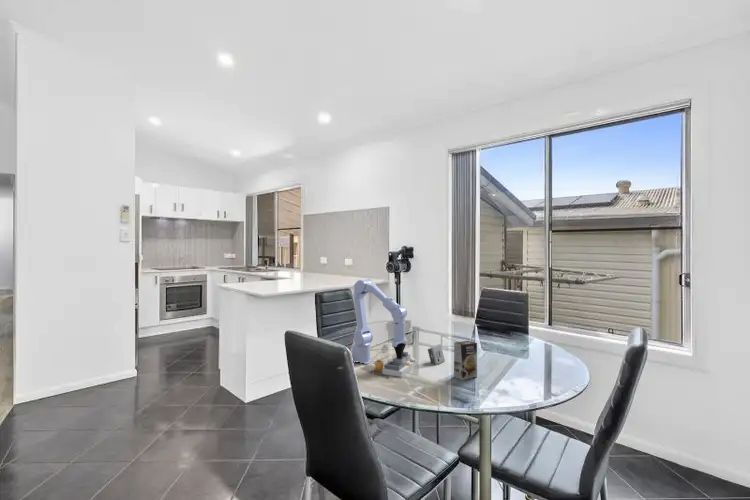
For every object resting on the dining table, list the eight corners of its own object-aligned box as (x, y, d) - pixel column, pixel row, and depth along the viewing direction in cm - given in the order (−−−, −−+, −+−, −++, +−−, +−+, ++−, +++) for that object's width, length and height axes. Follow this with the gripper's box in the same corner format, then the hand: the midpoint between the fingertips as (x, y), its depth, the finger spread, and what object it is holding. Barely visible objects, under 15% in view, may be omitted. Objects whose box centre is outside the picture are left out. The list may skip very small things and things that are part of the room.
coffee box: (462, 380, 167) (462, 344, 167) (453, 376, 172) (453, 342, 173) (477, 377, 171) (477, 342, 171) (468, 373, 177) (468, 340, 177)
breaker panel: (382, 374, 176) (382, 363, 176) (399, 362, 196) (399, 353, 196) (401, 376, 172) (401, 366, 172) (417, 364, 191) (417, 355, 192)
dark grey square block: (395, 363, 184) (395, 358, 184) (397, 361, 187) (397, 356, 187) (401, 364, 183) (401, 359, 183) (403, 362, 186) (403, 357, 186)
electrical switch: (436, 365, 190) (435, 347, 191) (428, 364, 193) (426, 347, 194) (445, 361, 197) (443, 344, 198) (436, 361, 200) (435, 343, 201)
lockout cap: (373, 370, 181) (373, 360, 181) (377, 368, 185) (377, 358, 185) (381, 371, 179) (381, 361, 180) (384, 369, 183) (384, 359, 183)
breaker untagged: (400, 357, 190) (400, 352, 190) (402, 356, 193) (402, 351, 193) (405, 358, 189) (405, 353, 189) (407, 356, 192) (407, 352, 192)
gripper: (401, 334, 177) (401, 362, 177) (411, 329, 190) (411, 355, 190) (388, 333, 180) (388, 361, 180) (399, 328, 193) (399, 354, 193)
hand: (399, 358), depth 185 cm, fingers closed, pressing on dark grey square block
